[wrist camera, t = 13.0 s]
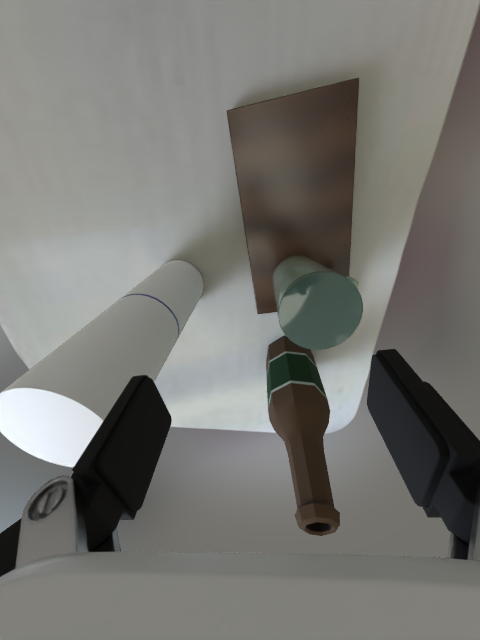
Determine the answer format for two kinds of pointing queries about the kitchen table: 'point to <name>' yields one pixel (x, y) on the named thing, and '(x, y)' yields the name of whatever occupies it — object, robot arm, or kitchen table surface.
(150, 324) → the cylindrical container
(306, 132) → the serving board
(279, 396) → the beer bottle
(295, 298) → the jug
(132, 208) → the kitchen table surface
